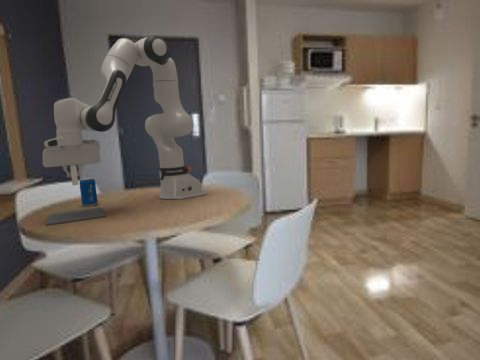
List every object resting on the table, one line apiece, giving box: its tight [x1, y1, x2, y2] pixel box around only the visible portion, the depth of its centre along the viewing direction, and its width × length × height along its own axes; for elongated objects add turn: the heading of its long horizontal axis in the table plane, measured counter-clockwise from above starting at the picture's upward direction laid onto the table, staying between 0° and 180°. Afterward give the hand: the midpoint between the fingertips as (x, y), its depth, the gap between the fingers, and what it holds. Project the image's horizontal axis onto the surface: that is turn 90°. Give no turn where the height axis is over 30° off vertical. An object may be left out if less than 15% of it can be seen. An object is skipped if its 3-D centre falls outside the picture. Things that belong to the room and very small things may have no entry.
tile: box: [69, 165, 79, 186], centre depth 139 cm, size 2×8×7 cm, turn 26°
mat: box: [46, 206, 107, 226], centre depth 141 cm, size 20×18×1 cm
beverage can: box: [78, 177, 98, 207], centre depth 161 cm, size 6×6×12 cm
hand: (74, 176), depth 140 cm, fingers closed on tile, 2 cm apart
